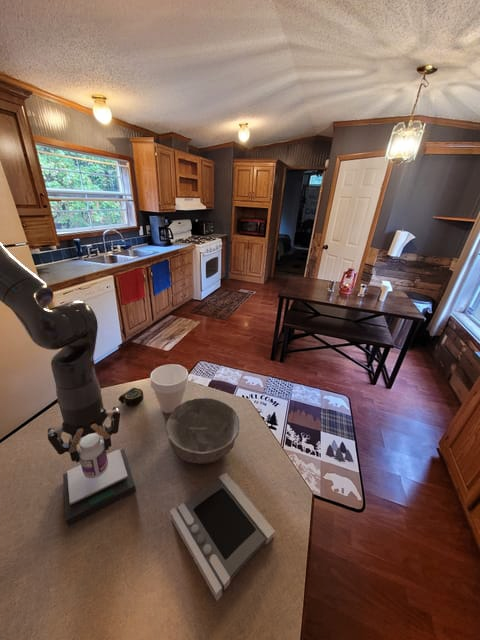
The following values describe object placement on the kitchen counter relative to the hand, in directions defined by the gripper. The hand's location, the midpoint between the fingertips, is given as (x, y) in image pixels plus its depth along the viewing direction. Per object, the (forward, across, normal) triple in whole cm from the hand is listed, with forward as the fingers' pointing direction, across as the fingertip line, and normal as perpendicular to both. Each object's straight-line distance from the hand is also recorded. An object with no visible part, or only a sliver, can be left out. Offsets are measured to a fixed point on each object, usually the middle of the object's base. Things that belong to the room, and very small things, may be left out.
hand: (92, 453), depth 59 cm
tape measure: (+11, -14, -26) cm, 31 cm away
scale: (+11, 0, +1) cm, 11 cm away
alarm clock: (+11, -21, +25) cm, 34 cm away
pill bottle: (+6, 0, 0) cm, 6 cm away
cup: (+11, -25, -17) cm, 32 cm away
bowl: (+11, -27, +4) cm, 29 cm away
